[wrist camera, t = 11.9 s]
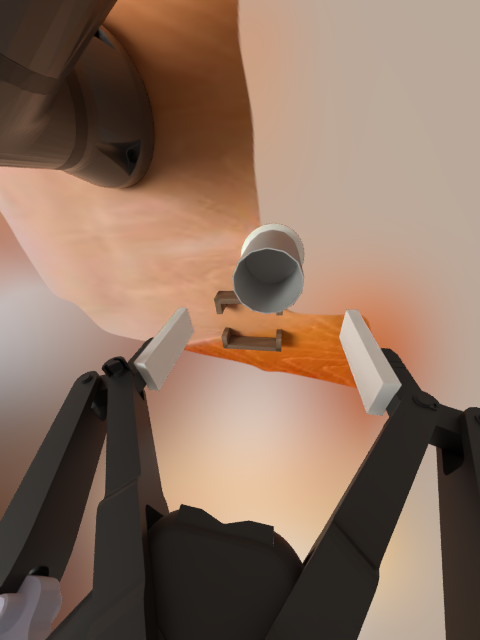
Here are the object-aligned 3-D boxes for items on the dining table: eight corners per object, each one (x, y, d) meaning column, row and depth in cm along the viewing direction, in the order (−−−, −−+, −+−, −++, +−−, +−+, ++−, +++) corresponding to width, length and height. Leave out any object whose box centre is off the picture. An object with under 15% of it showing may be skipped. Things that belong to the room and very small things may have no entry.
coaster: (238, 225, 29) (237, 226, 29) (307, 220, 27) (307, 221, 27) (243, 286, 35) (243, 287, 34) (301, 285, 33) (301, 286, 32)
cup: (294, 222, 27) (299, 239, 19) (301, 276, 31) (307, 307, 23) (239, 238, 30) (222, 259, 22) (252, 286, 34) (242, 317, 26)
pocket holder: (218, 291, 36) (214, 298, 34) (283, 290, 34) (282, 299, 31) (227, 339, 43) (223, 348, 41) (281, 341, 41) (281, 351, 38)
